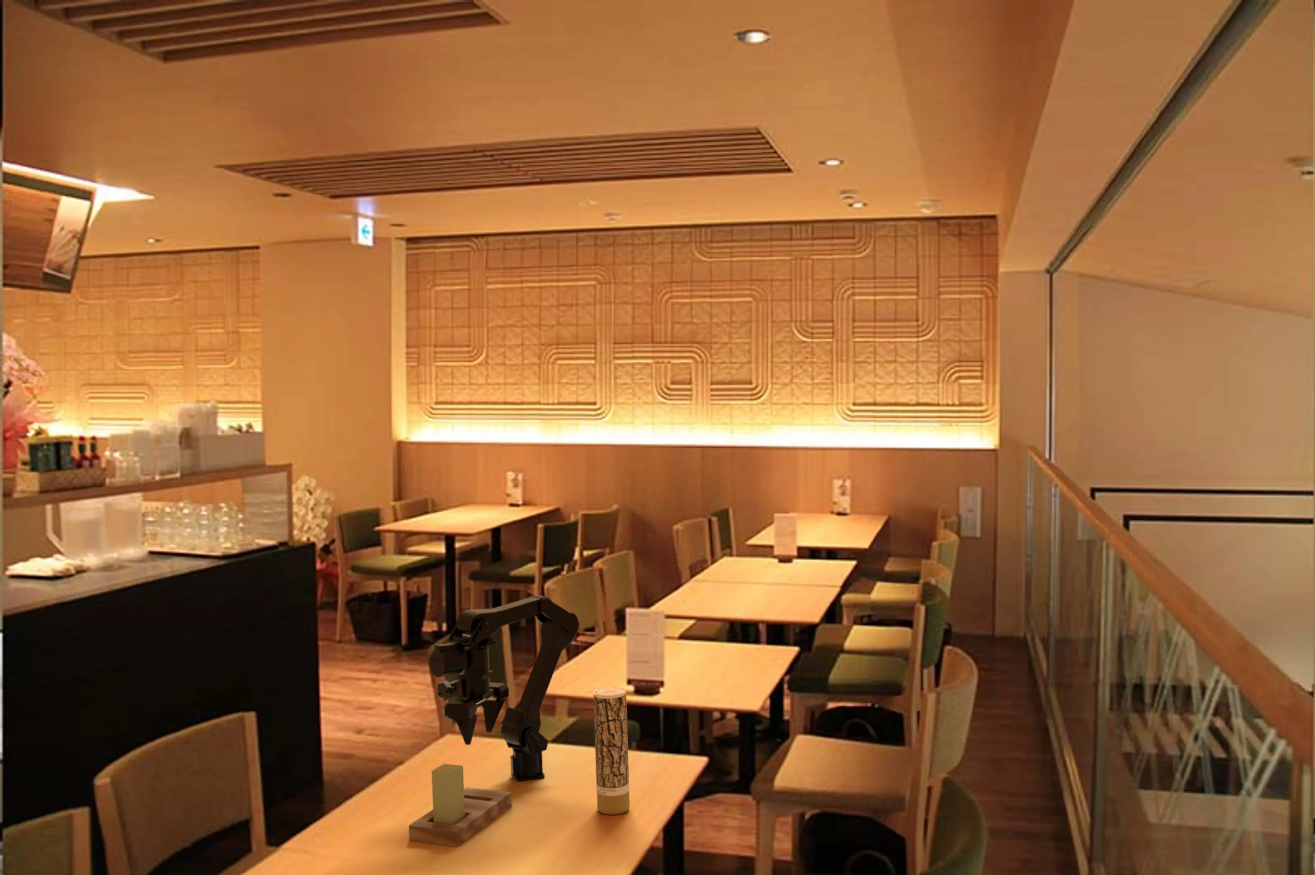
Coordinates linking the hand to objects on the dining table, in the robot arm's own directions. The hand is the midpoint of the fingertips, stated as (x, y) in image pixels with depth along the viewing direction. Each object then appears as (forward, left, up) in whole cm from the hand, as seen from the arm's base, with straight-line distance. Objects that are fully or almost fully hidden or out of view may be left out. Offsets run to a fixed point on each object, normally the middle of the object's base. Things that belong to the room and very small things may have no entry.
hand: (478, 738), depth 245 cm
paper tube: (-24, +22, -12) cm, 35 cm away
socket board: (+7, +16, -12) cm, 21 cm away
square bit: (+10, +20, -12) cm, 25 cm away
